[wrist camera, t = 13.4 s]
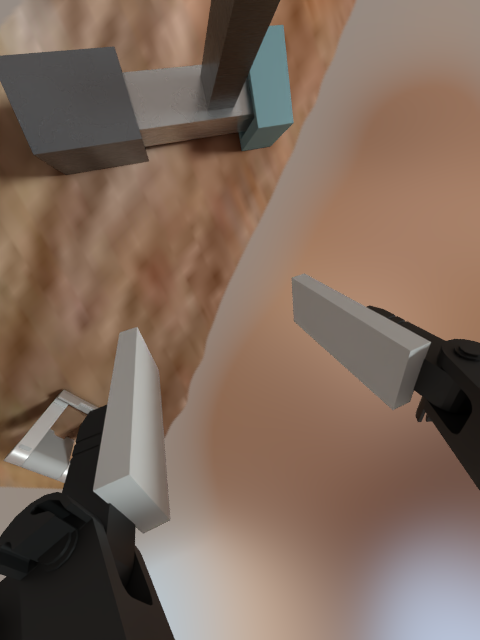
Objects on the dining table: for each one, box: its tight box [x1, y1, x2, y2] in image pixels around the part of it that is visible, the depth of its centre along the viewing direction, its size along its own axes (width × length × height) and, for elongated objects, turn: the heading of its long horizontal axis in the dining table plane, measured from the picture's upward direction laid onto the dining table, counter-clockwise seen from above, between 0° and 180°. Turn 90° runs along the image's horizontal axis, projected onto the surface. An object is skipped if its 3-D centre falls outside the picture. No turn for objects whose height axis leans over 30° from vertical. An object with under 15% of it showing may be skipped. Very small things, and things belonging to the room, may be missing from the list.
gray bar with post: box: [122, 0, 280, 147], centre depth 21 cm, size 18×5×17 cm, turn 102°
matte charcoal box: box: [0, 47, 149, 175], centre depth 25 cm, size 10×7×7 cm
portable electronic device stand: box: [4, 390, 98, 483], centre depth 34 cm, size 9×8×8 cm
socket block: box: [239, 25, 293, 151], centre depth 28 cm, size 4×8×7 cm, turn 12°
